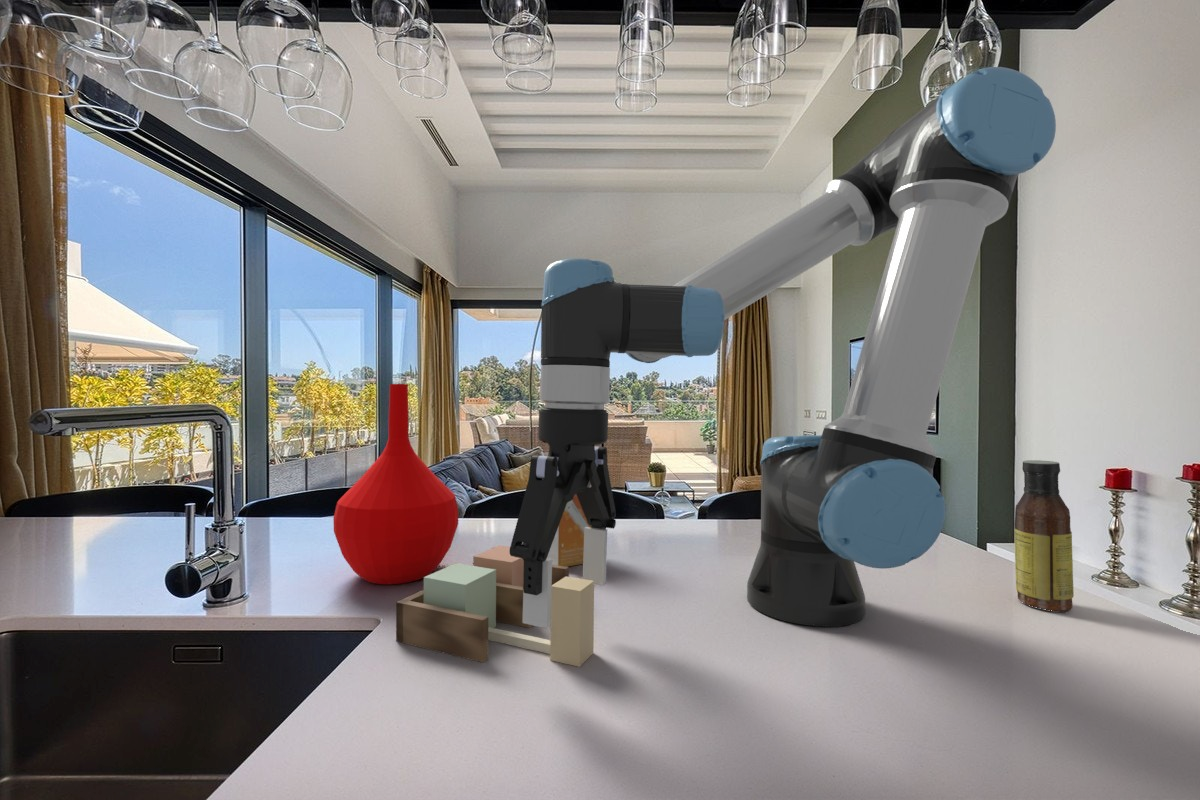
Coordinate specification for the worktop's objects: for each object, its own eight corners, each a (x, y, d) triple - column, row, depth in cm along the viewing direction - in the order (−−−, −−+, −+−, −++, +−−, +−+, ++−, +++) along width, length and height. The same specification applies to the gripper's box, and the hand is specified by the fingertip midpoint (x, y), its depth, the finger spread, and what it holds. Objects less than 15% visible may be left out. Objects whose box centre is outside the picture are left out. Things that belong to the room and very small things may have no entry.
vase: (406, 603, 76) (407, 383, 75) (304, 585, 82) (305, 382, 82) (480, 564, 93) (481, 385, 93) (391, 552, 99) (391, 384, 99)
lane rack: (568, 599, 78) (568, 567, 78) (482, 662, 59) (482, 620, 59) (496, 586, 82) (496, 556, 82) (396, 641, 64) (396, 602, 64)
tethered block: (598, 648, 63) (598, 577, 63) (574, 672, 57) (574, 594, 57) (456, 617, 71) (456, 555, 71) (423, 636, 65) (423, 568, 65)
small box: (558, 569, 91) (558, 489, 90) (540, 559, 96) (540, 484, 96) (599, 561, 95) (600, 485, 95) (580, 552, 100) (580, 480, 100)
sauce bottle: (1064, 601, 78) (1067, 460, 78) (1080, 617, 73) (1083, 465, 73) (1007, 594, 81) (1010, 457, 81) (1019, 609, 76) (1022, 462, 75)
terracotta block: (535, 600, 77) (535, 550, 77) (511, 616, 72) (511, 562, 72) (499, 594, 80) (499, 545, 80) (473, 608, 74) (473, 556, 74)
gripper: (590, 404, 73) (586, 565, 74) (475, 406, 51) (468, 639, 51) (644, 406, 70) (639, 574, 71) (547, 409, 48) (540, 657, 48)
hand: (568, 601), depth 61 cm, fingers open, 13 cm apart
